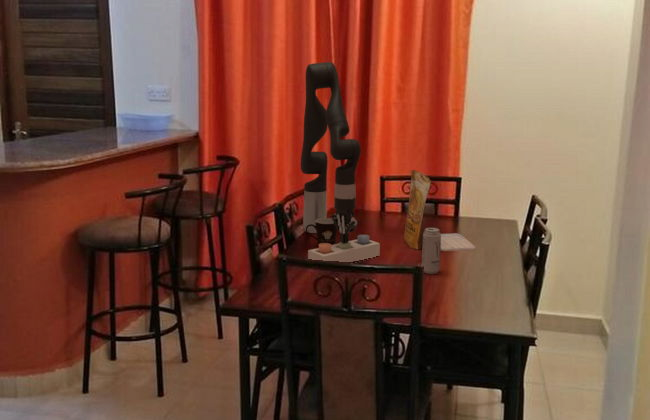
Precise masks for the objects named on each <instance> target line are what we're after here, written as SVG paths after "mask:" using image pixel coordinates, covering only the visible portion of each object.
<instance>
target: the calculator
mask: <svg viewBox="0 0 650 420" xmlns="http://www.w3.org/2000/svg"><path fill="white" fill-rule="evenodd" d="M440 234H441V246H440V251H442V252H456V251H457V252H458V251H459V252H460V251H476V246H475V245H474V244H472V242H470V241H469V240H467V239H466V238H465V237H464V236H463V235H462V234H460V233H456V232H455V233H440Z"/></svg>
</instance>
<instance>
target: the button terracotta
mask: <svg viewBox="0 0 650 420" xmlns="http://www.w3.org/2000/svg"><path fill="white" fill-rule="evenodd" d="M318 248H319V253H321V254H328V253H331V244H329V243H320V244H319V247H318Z"/></svg>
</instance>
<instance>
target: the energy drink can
mask: <svg viewBox="0 0 650 420" xmlns="http://www.w3.org/2000/svg"><path fill="white" fill-rule="evenodd" d="M441 234H442V233H441V232H440V229H439V228H437V227H426V228H424V231H423V235H422V248H421V249H422V250H421V266H422V265H423V266H424V272H423V273H424V274H427V275H436V274H438V273H439V271H440V263H441V250H440V246H441Z"/></svg>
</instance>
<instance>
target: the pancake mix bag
mask: <svg viewBox="0 0 650 420" xmlns="http://www.w3.org/2000/svg"><path fill="white" fill-rule="evenodd" d="M410 172H411V179H410V189H409V199H408V204H407V205H408V206H407V212H406V220H405V228H404V233H403V234H404V236H403V238H404V241H405V243H406V244H407V245H408V246H409V248H410V249H414V250H420V249H422V247H423V233H424V218H423V215H424V211H425V207H426V201H427V198H428V194H429V191H430V188H431V186H432V180H431V179H430V178H429V177H428V176H427V175H424V174H423V173H422V172H419V171H417V170H414V169H412V170H410Z"/></svg>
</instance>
